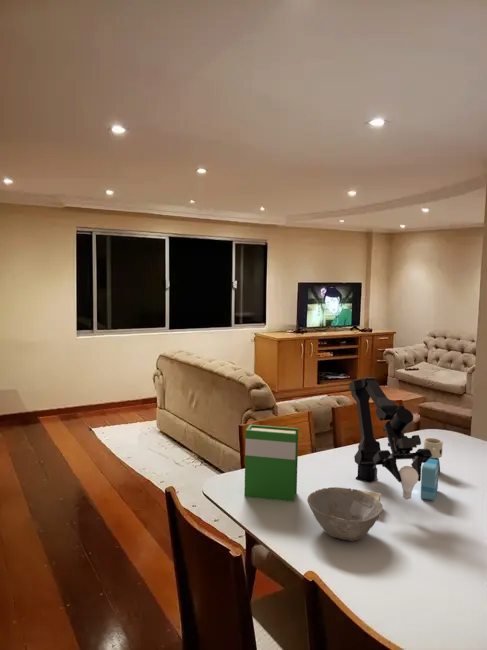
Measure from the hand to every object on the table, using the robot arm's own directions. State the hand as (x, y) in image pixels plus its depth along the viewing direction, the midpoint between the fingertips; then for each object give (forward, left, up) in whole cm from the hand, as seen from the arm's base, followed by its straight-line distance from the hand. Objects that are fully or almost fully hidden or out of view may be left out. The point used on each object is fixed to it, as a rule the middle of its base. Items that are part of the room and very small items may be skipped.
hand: (410, 481), depth 166 cm
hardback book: (-45, -13, -13) cm, 49 cm away
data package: (0, +23, -13) cm, 26 cm away
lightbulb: (-1, +1, -7) cm, 7 cm away
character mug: (-6, +47, -13) cm, 49 cm away
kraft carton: (-13, -2, -12) cm, 18 cm away
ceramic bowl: (-12, -23, -13) cm, 29 cm away
